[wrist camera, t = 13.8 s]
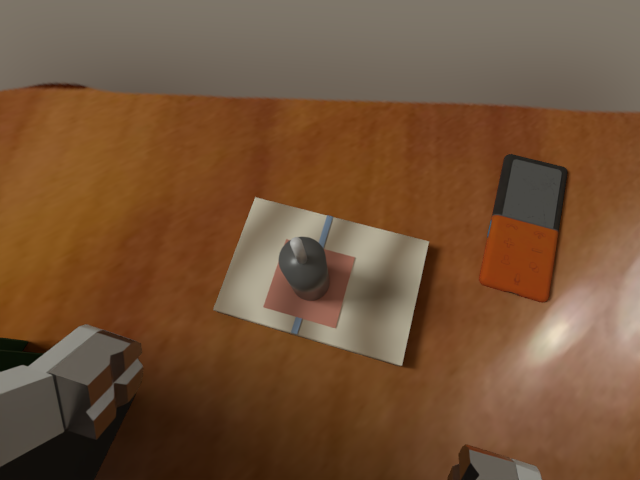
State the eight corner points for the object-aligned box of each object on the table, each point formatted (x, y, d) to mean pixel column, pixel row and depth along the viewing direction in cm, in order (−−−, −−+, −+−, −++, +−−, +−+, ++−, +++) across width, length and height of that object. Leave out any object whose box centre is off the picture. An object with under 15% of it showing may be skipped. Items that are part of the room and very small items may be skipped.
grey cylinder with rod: (334, 269, 38) (330, 225, 27) (323, 305, 37) (313, 275, 26) (298, 259, 39) (279, 211, 27) (286, 294, 38) (261, 260, 26)
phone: (480, 282, 38) (507, 150, 43) (475, 285, 39) (502, 156, 44) (550, 302, 37) (570, 166, 42) (543, 305, 38) (564, 172, 43)
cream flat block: (425, 246, 40) (429, 241, 39) (399, 366, 37) (402, 365, 35) (258, 203, 43) (255, 196, 41) (217, 312, 39) (212, 309, 37)
